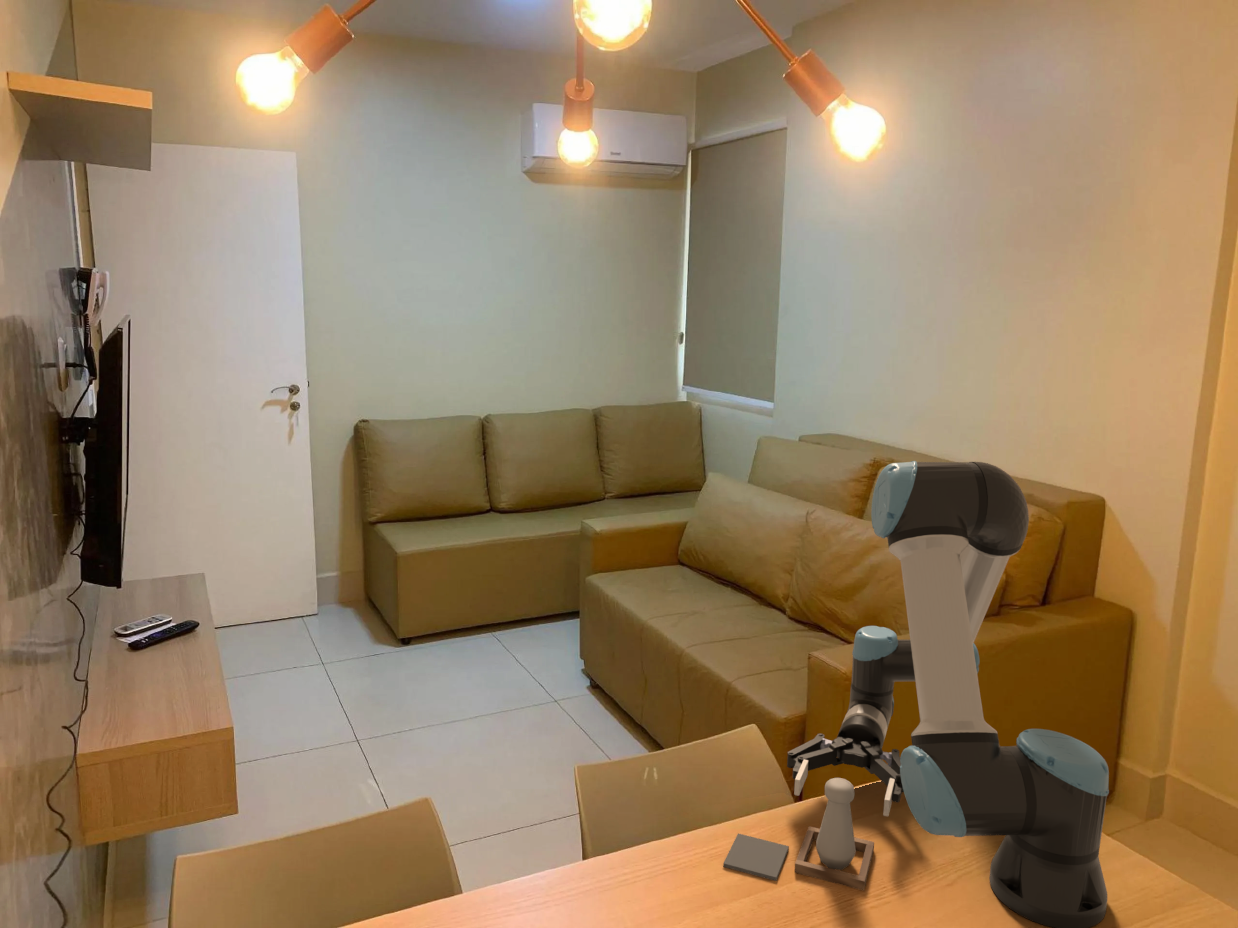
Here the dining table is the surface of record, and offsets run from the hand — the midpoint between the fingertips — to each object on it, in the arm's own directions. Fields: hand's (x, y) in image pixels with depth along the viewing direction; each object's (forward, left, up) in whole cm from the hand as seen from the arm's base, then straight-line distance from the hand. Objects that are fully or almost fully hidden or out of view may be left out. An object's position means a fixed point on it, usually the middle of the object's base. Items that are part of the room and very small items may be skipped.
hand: (840, 797), depth 139 cm
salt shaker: (0, +5, -8) cm, 9 cm away
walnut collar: (0, +5, -7) cm, 9 cm away
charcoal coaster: (+11, +9, -7) cm, 16 cm away
